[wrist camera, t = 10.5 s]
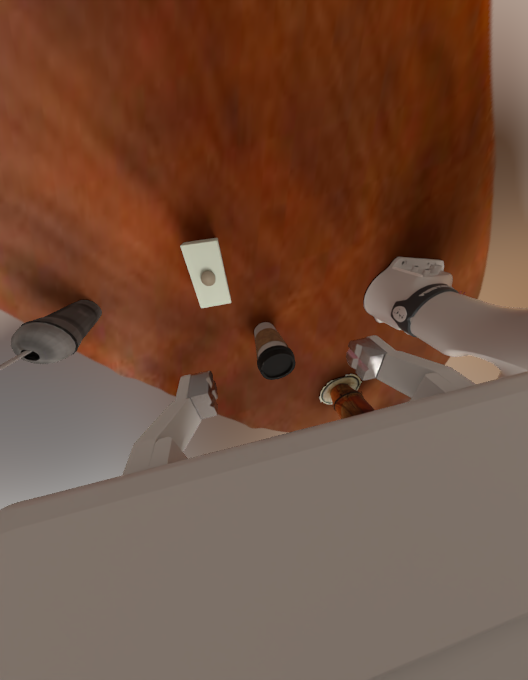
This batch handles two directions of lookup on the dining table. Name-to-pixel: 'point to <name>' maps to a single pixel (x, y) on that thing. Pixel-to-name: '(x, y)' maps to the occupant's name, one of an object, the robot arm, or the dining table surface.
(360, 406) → the decorative vase
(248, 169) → the dining table surface
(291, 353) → the coffee cup
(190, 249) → the lid
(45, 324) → the beverage cup
